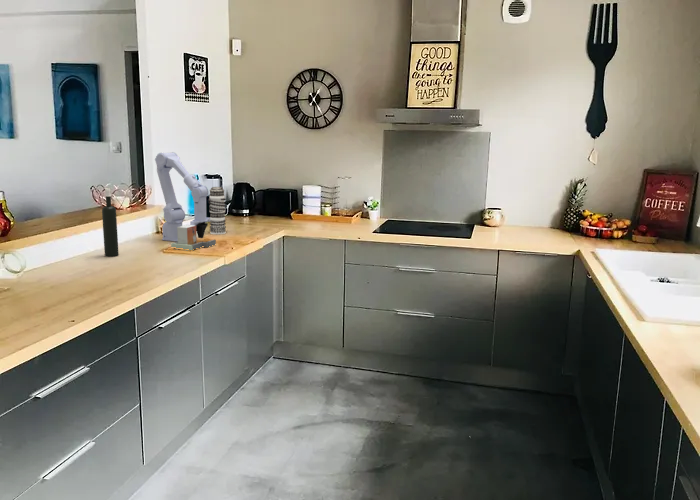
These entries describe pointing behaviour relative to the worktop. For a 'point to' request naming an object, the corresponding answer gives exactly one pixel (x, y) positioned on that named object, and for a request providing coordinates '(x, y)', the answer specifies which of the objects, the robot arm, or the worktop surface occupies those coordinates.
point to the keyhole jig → (194, 245)
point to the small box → (187, 234)
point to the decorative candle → (217, 210)
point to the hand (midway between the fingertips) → (200, 237)
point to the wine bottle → (110, 227)
